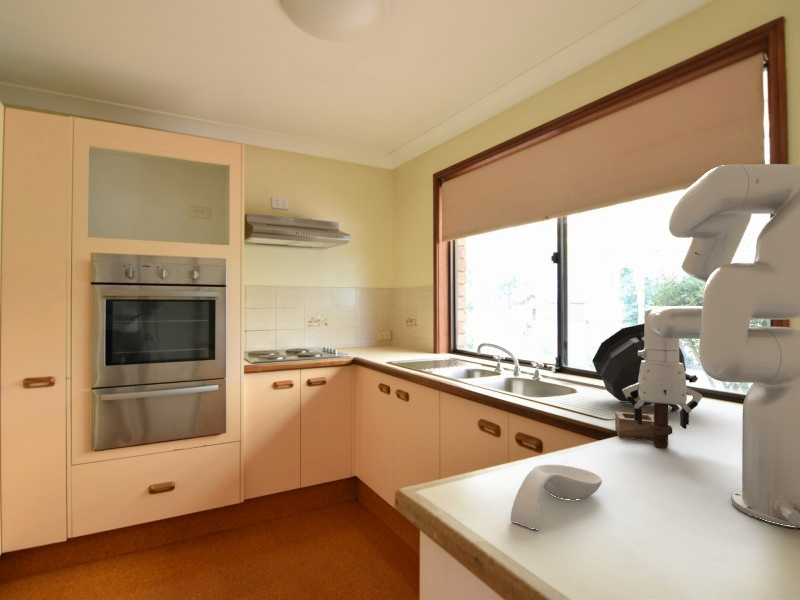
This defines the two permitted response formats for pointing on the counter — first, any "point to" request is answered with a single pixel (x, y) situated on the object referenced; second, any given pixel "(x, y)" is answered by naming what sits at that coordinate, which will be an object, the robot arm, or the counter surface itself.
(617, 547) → the counter surface
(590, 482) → the spoon rest
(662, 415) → the bolt
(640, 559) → the counter surface
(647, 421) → the holder
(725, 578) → the counter surface
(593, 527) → the counter surface
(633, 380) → the black cauldron
